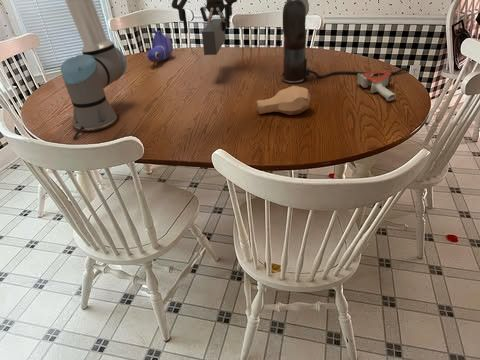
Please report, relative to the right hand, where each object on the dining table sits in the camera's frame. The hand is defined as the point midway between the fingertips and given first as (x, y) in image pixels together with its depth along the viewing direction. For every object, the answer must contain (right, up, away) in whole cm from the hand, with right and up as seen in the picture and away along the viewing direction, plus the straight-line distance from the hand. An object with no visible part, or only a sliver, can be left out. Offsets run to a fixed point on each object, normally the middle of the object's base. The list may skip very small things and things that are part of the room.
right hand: (217, 30), depth 164 cm
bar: (-1, -9, -3) cm, 9 cm away
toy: (-32, -6, +25) cm, 41 cm away
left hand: (0, -20, -50) cm, 54 cm away
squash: (+27, -44, -31) cm, 60 cm away
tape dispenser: (+65, -33, -20) cm, 76 cm away
